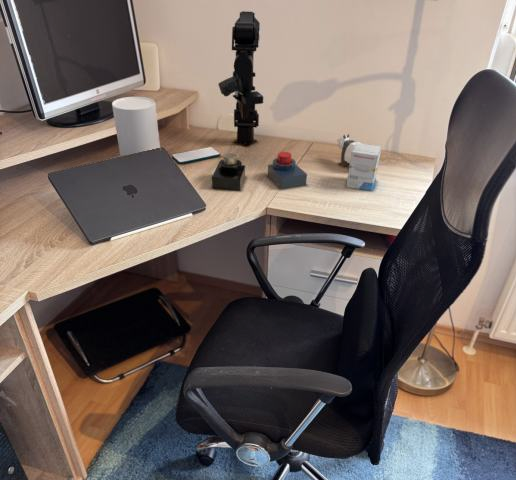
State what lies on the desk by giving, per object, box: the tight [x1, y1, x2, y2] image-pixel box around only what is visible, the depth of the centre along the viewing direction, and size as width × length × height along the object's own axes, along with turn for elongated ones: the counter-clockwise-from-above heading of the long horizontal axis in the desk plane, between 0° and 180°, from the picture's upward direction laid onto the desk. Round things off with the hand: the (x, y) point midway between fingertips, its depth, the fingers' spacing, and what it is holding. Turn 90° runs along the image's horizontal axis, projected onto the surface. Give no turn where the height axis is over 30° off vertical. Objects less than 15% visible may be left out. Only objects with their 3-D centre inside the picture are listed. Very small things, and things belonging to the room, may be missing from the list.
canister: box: [111, 96, 161, 157], centre depth 165 cm, size 14×14×20 cm
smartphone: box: [171, 146, 221, 165], centre depth 178 cm, size 8×1×16 cm
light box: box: [211, 159, 246, 192], centre depth 161 cm, size 12×9×6 cm
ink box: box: [345, 142, 382, 192], centre depth 161 cm, size 9×8×12 cm
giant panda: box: [336, 134, 363, 167], centre depth 173 cm, size 15×6×10 cm, turn 29°
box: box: [267, 157, 308, 190], centre depth 164 cm, size 12×9×6 cm
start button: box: [277, 151, 292, 165], centre depth 163 cm, size 4×4×3 cm
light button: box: [222, 152, 238, 166], centre depth 161 cm, size 4×4×3 cm
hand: (244, 119), depth 171 cm, fingers closed
